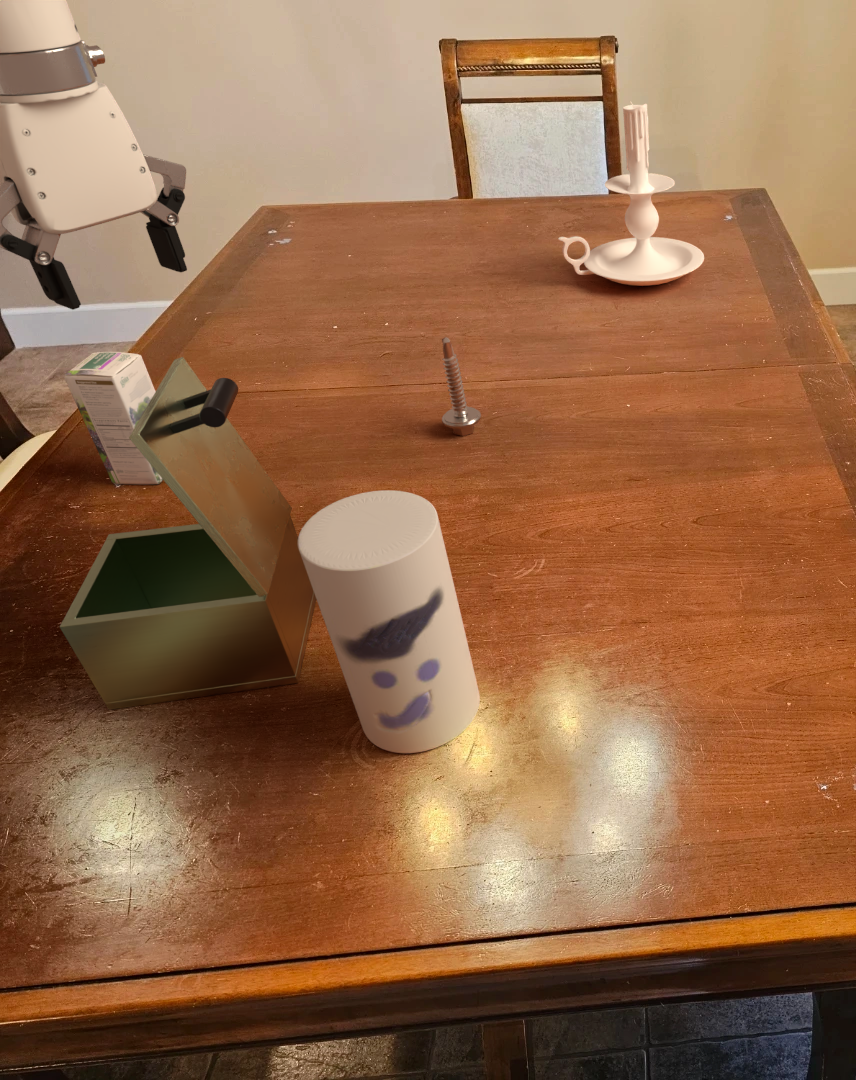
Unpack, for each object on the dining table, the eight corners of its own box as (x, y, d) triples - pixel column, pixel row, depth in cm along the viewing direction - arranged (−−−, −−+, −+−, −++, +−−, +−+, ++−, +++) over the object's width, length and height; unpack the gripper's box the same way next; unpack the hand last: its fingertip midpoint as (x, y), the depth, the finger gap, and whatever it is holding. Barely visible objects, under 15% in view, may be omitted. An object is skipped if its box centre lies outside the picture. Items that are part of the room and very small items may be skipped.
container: (386, 774, 75) (321, 586, 63) (346, 700, 82) (279, 517, 69) (499, 718, 80) (458, 534, 68) (452, 653, 86) (408, 473, 74)
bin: (108, 710, 81) (59, 626, 75) (149, 614, 91) (108, 534, 85) (298, 683, 83) (265, 600, 77) (317, 592, 93) (289, 513, 87)
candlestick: (548, 267, 163) (527, 95, 146) (679, 247, 171) (674, 82, 154) (580, 311, 148) (561, 125, 131) (722, 287, 156) (722, 108, 139)
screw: (467, 444, 116) (437, 435, 118) (491, 426, 120) (461, 418, 121) (448, 348, 108) (416, 341, 110) (474, 332, 112) (442, 325, 113)
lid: (128, 437, 67) (193, 415, 67) (174, 359, 77) (230, 339, 77) (259, 597, 77) (315, 578, 77) (284, 510, 87) (334, 493, 87)
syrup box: (138, 459, 114) (89, 350, 105) (185, 459, 113) (140, 351, 105) (112, 484, 109) (58, 373, 100) (161, 485, 109) (112, 374, 100)
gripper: (117, 50, 78) (188, 249, 89) (-115, 87, 67) (-3, 311, 77) (170, 58, 75) (236, 264, 86) (-65, 99, 64) (45, 331, 74)
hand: (123, 286), depth 81 cm, fingers open, 9 cm apart
